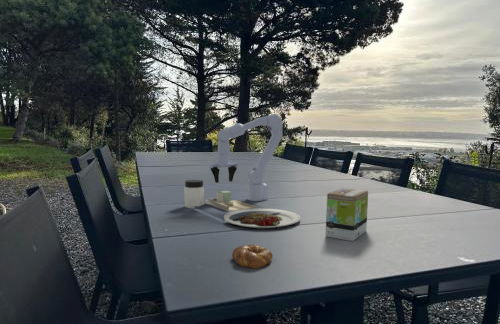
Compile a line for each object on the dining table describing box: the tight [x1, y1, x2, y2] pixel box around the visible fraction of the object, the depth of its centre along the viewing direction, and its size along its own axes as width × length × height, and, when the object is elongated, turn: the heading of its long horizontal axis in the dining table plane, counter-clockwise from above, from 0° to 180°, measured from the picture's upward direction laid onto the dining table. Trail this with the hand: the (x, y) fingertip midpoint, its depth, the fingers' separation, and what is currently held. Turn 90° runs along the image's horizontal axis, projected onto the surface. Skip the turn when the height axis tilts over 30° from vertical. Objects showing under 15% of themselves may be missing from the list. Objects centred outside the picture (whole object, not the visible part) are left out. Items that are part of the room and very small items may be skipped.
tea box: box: [325, 187, 369, 242], centre depth 126 cm, size 15×10×15 cm, turn 148°
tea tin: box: [216, 189, 232, 203], centre depth 172 cm, size 4×7×6 cm, turn 32°
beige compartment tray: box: [205, 197, 257, 212], centre depth 170 cm, size 16×20×3 cm
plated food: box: [223, 207, 301, 229], centre depth 145 cm, size 30×30×3 cm
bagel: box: [231, 243, 274, 269], centre depth 100 cm, size 12×11×4 cm
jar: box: [183, 179, 205, 209], centre depth 171 cm, size 9×8×12 cm
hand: (223, 182), depth 182 cm, fingers open, 7 cm apart
